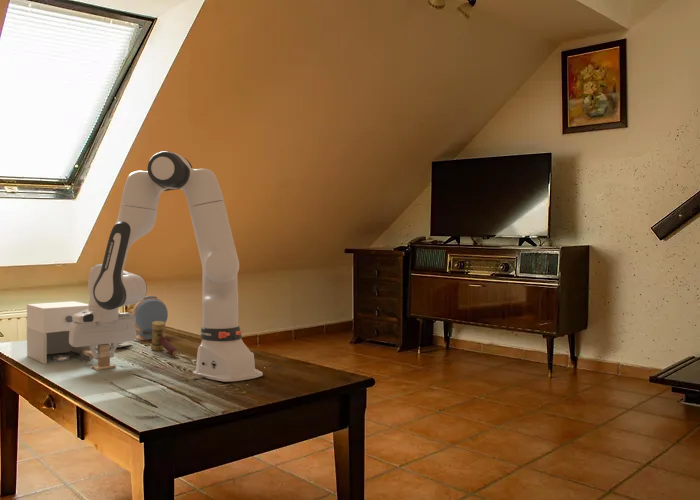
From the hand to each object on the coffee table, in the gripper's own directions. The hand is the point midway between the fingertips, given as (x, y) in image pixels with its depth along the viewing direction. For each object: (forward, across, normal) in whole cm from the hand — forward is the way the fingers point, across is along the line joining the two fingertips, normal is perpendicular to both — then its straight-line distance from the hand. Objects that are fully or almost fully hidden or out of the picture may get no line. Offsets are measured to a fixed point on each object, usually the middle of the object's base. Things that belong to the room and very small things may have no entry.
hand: (103, 358), depth 201 cm
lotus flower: (+4, -17, -35) cm, 39 cm away
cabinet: (+3, +4, -29) cm, 29 cm away
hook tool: (+3, 0, 0) cm, 3 cm away
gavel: (+5, -27, -12) cm, 30 cm away
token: (+4, +5, -24) cm, 25 cm away
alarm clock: (+3, -37, -46) cm, 59 cm away
